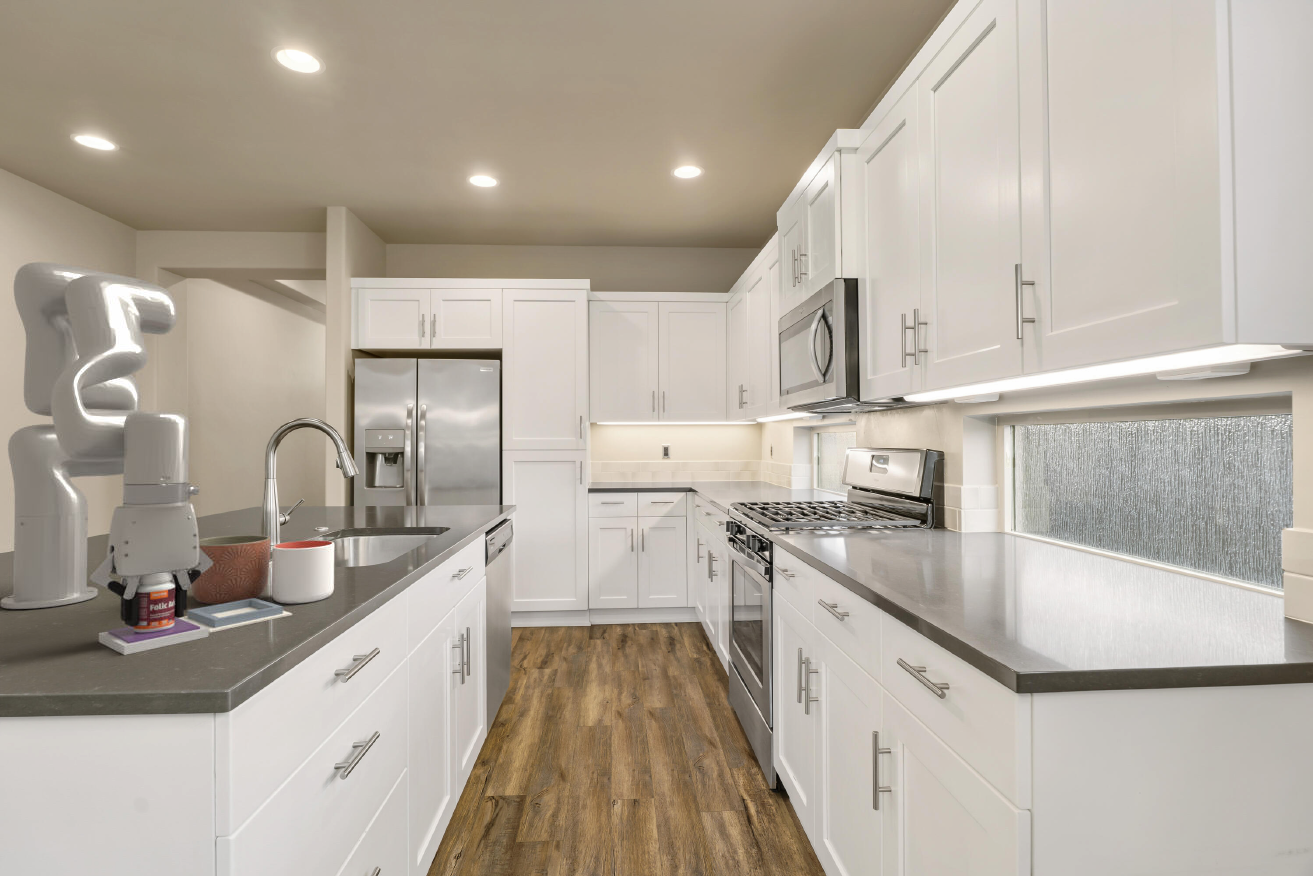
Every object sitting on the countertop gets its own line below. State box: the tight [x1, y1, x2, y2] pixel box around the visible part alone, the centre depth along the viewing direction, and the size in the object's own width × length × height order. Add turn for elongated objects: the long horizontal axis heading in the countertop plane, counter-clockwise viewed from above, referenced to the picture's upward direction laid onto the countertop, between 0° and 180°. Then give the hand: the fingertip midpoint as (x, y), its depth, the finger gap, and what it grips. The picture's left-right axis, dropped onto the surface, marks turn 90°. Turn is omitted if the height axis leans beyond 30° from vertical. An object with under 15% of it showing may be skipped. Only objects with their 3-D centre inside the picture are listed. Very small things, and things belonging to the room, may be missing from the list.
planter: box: [190, 534, 271, 605], centre depth 117 cm, size 12×12×11 cm
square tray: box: [181, 597, 293, 634], centre depth 105 cm, size 12×12×2 cm
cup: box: [271, 540, 335, 605], centre depth 118 cm, size 10×10×10 cm
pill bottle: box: [134, 572, 176, 633], centre depth 93 cm, size 5×5×8 cm
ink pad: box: [98, 617, 210, 656], centre depth 93 cm, size 10×10×2 cm
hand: (154, 619), depth 93 cm, fingers closed on pill bottle, 4 cm apart
